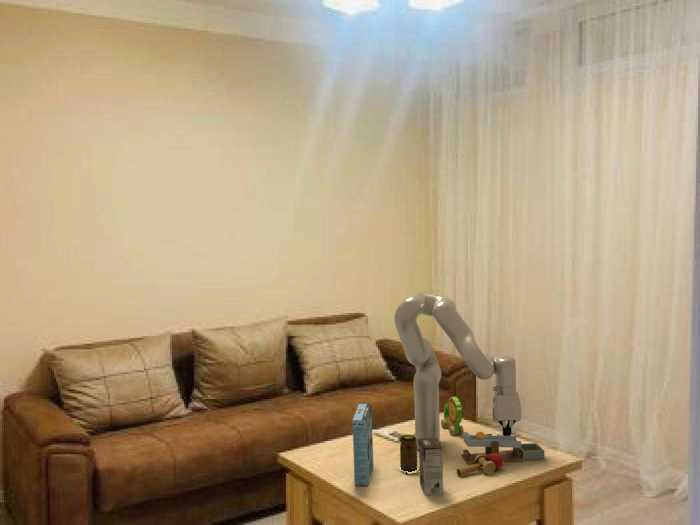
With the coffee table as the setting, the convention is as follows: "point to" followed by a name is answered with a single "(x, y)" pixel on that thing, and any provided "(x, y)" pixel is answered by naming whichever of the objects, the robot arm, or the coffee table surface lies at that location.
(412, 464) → the condiment
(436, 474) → the coffee box
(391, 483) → the coffee table surface
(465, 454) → the stand
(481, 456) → the kendama
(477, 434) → the ball
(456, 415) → the toy lion
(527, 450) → the green square tray
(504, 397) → the robot arm
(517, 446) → the lever
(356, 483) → the gum box
